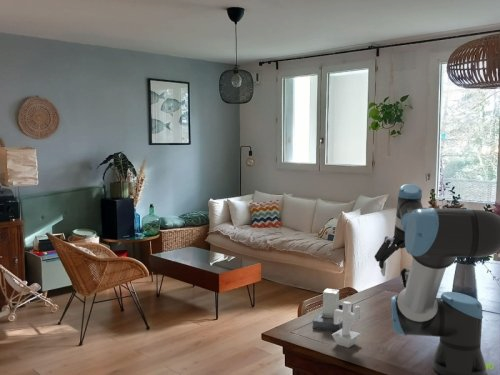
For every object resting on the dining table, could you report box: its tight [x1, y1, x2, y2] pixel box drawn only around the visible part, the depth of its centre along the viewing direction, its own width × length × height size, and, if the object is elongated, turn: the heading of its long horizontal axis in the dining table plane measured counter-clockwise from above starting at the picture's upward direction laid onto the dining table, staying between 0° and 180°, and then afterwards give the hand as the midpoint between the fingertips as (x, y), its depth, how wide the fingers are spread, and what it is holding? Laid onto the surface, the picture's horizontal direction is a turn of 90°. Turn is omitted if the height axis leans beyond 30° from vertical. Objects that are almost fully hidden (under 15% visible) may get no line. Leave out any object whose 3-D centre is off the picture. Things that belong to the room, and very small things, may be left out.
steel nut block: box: [322, 288, 340, 320], centre depth 189 cm, size 5×5×13 cm
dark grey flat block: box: [312, 302, 354, 333], centre depth 195 cm, size 24×10×3 cm, turn 157°
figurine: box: [331, 301, 361, 349], centre depth 171 cm, size 7×9×15 cm
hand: (400, 271), depth 185 cm, fingers open, 13 cm apart
